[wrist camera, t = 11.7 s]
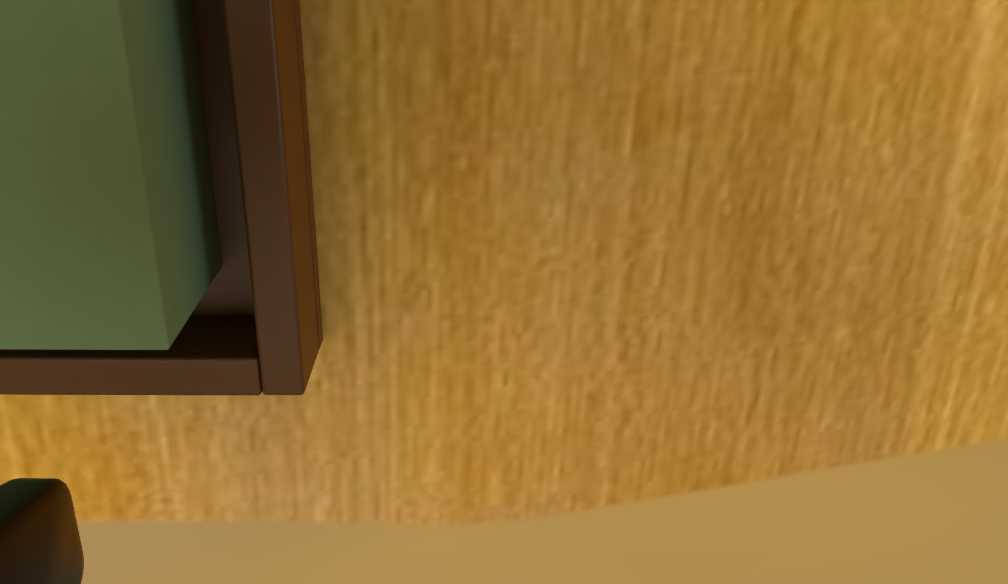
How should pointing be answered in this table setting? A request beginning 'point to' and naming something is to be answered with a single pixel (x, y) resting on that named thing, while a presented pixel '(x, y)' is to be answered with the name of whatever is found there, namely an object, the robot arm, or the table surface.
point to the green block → (102, 175)
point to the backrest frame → (229, 232)
